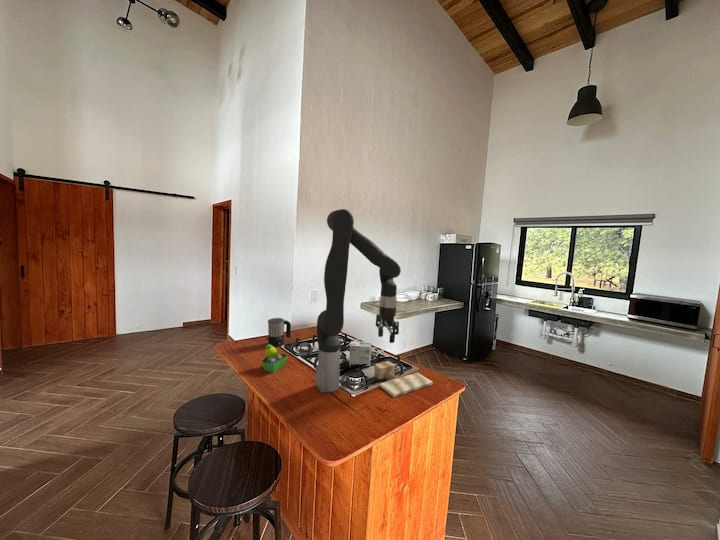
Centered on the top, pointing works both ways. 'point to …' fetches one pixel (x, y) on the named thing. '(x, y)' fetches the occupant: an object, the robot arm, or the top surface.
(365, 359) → the light bulb box
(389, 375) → the block
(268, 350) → the fruit basket
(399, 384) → the board
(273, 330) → the milk frother
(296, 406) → the top surface
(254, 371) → the top surface
